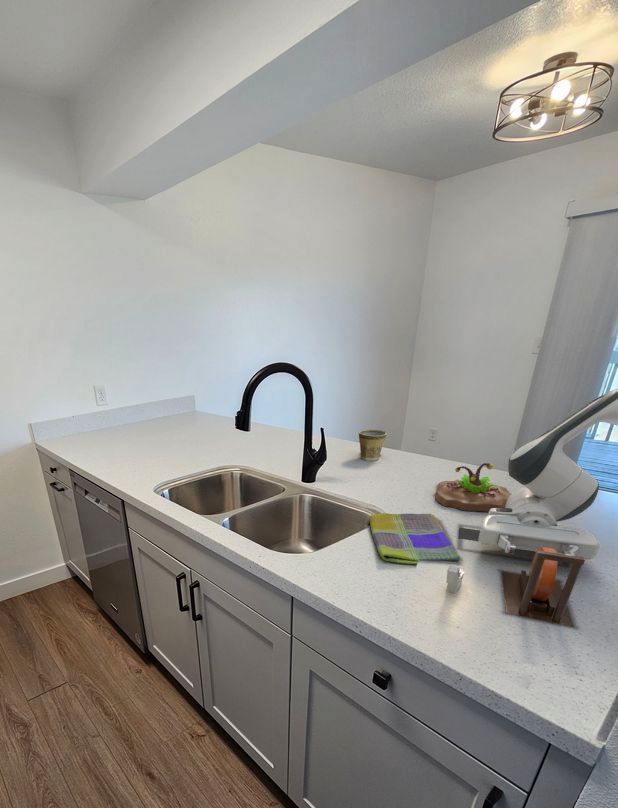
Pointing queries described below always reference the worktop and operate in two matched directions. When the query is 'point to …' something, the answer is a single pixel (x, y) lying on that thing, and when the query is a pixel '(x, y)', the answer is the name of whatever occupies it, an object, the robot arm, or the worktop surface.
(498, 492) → the plant
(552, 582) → the disc
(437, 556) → the dish towel
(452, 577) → the lighter
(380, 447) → the ceramic cup
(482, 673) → the worktop surface
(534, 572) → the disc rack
